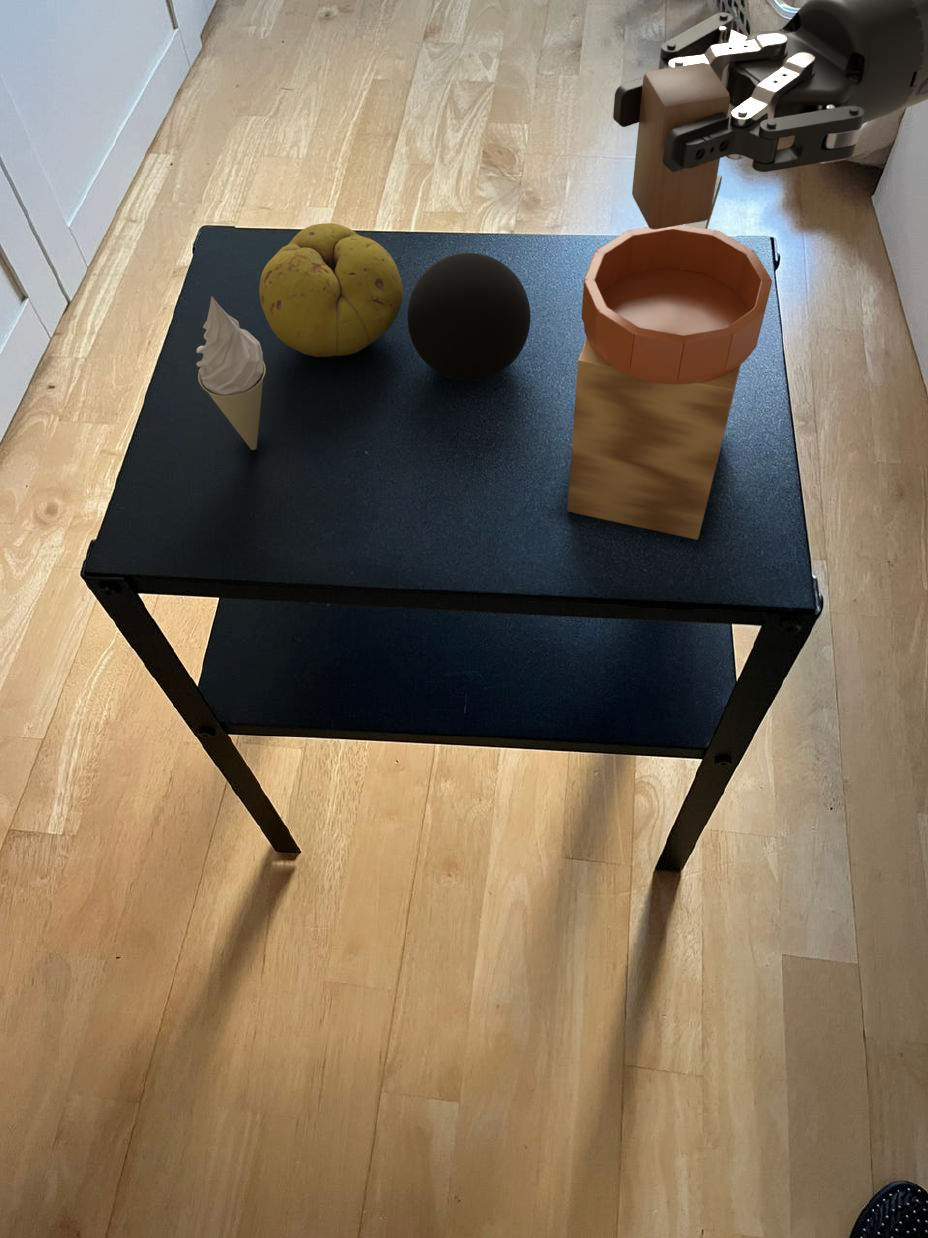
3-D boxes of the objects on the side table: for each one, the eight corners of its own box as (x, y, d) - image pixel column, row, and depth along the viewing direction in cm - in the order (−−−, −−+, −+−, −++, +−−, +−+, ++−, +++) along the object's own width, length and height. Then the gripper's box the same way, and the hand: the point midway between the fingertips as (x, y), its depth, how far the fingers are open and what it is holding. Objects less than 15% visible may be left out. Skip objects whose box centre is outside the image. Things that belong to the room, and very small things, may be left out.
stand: (721, 445, 82) (758, 289, 70) (697, 540, 77) (733, 389, 65) (598, 420, 84) (613, 265, 72) (567, 511, 79) (577, 360, 67)
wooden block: (629, 195, 66) (641, 68, 59) (690, 185, 66) (709, 57, 59) (648, 233, 63) (663, 105, 57) (711, 222, 64) (733, 94, 57)
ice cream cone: (281, 470, 83) (241, 319, 70) (218, 471, 83) (167, 320, 70) (288, 425, 85) (251, 272, 73) (227, 425, 86) (180, 273, 73)
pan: (743, 399, 64) (754, 356, 61) (564, 365, 67) (566, 322, 64) (785, 223, 74) (797, 178, 71) (628, 199, 76) (633, 154, 73)
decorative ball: (465, 310, 93) (461, 211, 84) (553, 359, 89) (558, 260, 80) (388, 370, 89) (375, 272, 80) (476, 424, 85) (472, 326, 76)
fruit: (272, 305, 94) (249, 207, 86) (401, 291, 94) (391, 192, 86) (274, 391, 88) (249, 293, 80) (412, 375, 88) (402, 277, 80)
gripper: (821, -67, 64) (580, 8, 60) (989, 34, 56) (726, 127, 52) (794, 57, 70) (574, 132, 66) (942, 163, 62) (704, 254, 58)
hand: (643, 129), depth 59 cm, fingers closed on wooden block, 4 cm apart
